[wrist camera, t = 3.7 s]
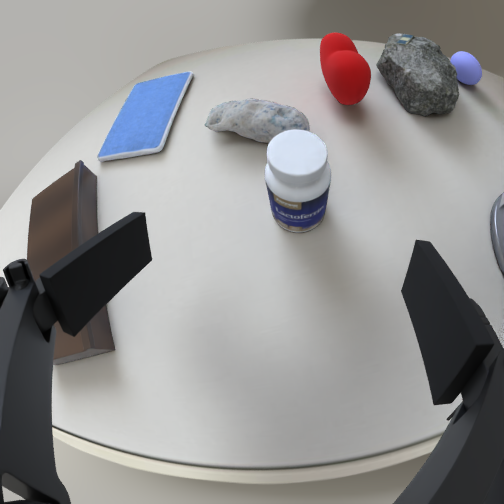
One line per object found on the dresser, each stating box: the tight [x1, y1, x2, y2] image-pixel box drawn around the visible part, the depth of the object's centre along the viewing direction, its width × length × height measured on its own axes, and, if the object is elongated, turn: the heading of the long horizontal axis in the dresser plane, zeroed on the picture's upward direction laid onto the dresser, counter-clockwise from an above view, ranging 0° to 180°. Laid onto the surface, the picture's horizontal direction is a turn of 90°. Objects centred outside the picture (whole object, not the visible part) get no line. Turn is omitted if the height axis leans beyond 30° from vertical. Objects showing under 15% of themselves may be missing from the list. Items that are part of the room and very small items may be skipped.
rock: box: [377, 34, 459, 116], centre depth 29 cm, size 18×14×10 cm
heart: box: [320, 33, 371, 105], centre depth 29 cm, size 12×5×10 cm, turn 3°
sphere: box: [450, 52, 482, 85], centre depth 29 cm, size 7×7×7 cm
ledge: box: [27, 160, 115, 365], centre depth 30 cm, size 26×12×5 cm, turn 20°
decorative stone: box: [205, 98, 310, 143], centre depth 31 cm, size 13×7×5 cm, turn 76°
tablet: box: [97, 72, 193, 161], centre depth 38 cm, size 19×13×1 cm, turn 175°
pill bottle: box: [265, 130, 331, 232], centre depth 24 cm, size 6×6×10 cm
